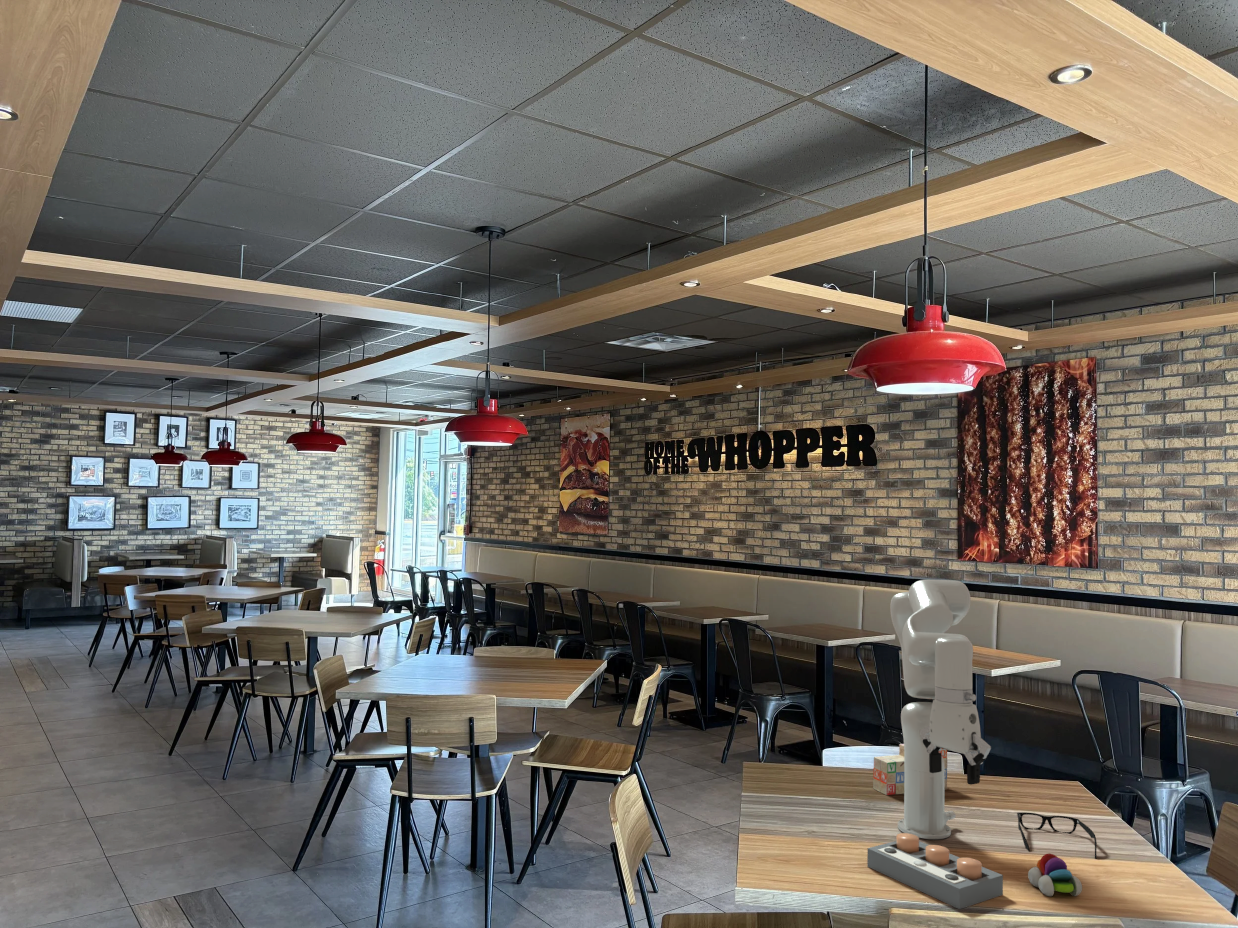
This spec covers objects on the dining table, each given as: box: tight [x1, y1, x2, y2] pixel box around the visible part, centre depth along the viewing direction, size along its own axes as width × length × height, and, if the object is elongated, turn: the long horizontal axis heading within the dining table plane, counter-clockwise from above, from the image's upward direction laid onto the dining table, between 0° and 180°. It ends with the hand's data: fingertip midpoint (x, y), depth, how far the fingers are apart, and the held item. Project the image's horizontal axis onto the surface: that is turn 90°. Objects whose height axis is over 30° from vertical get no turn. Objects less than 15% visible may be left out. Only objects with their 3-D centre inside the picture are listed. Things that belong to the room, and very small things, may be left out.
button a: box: [896, 832, 920, 854], centre depth 196 cm, size 5×5×3 cm
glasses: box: [1016, 811, 1098, 860], centre depth 213 cm, size 17×18×5 cm
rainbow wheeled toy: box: [1027, 853, 1083, 897], centre depth 185 cm, size 8×10×7 cm
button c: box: [957, 857, 983, 881], centre depth 182 cm, size 5×5×3 cm
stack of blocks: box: [872, 743, 948, 796], centre depth 252 cm, size 21×6×12 cm, turn 111°
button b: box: [926, 844, 950, 867], centre depth 189 cm, size 5×5×3 cm
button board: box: [866, 840, 1004, 910], centre depth 188 cm, size 14×24×4 cm, turn 32°
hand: (954, 777), depth 186 cm, fingers open, 9 cm apart
